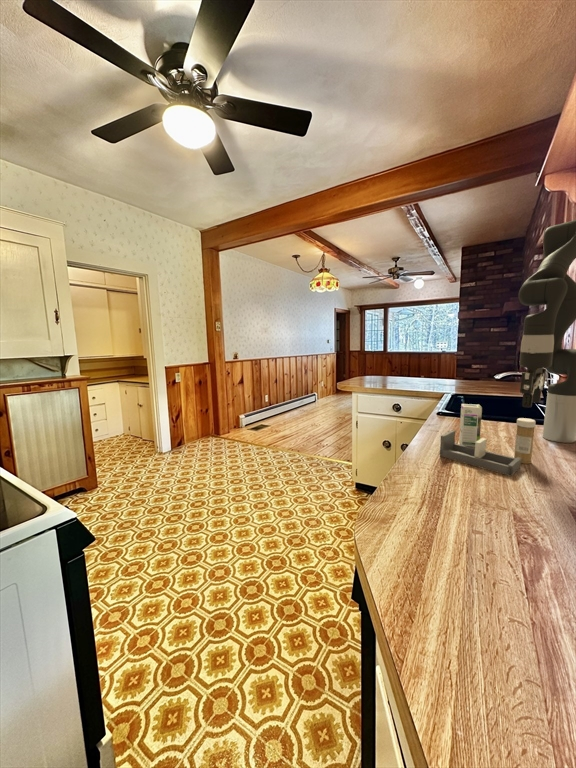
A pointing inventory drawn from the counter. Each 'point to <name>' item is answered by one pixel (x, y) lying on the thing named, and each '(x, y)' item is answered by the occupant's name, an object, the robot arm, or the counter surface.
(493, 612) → the counter surface
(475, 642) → the counter surface
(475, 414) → the syrup box
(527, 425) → the sprinkles bottle
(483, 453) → the pusher plate
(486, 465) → the grey slide rail frame
